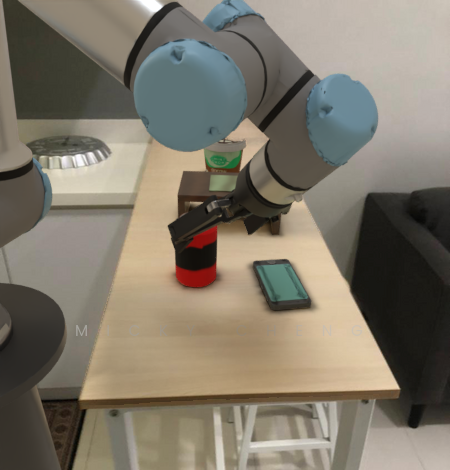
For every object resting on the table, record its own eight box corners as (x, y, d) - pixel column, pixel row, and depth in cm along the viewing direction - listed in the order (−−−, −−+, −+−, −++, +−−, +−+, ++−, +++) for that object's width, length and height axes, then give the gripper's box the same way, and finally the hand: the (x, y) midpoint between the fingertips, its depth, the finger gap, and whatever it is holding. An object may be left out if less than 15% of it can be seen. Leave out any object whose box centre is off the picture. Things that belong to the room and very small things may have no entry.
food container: (199, 180, 126) (199, 143, 120) (200, 172, 131) (200, 136, 125) (244, 182, 126) (246, 145, 120) (244, 174, 131) (246, 138, 125)
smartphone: (287, 257, 91) (312, 301, 79) (287, 263, 92) (311, 307, 80) (251, 260, 90) (271, 305, 78) (251, 265, 91) (270, 311, 79)
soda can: (221, 270, 89) (223, 212, 82) (208, 291, 83) (209, 231, 76) (184, 263, 91) (183, 206, 84) (169, 283, 85) (166, 223, 78)
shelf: (178, 231, 101) (176, 180, 95) (183, 204, 113) (182, 157, 106) (278, 234, 102) (284, 184, 95) (274, 207, 113) (278, 161, 106)
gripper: (196, 228, 52) (150, 276, 71) (359, 188, 62) (281, 240, 82) (173, 166, 52) (134, 231, 71) (339, 137, 63) (266, 200, 82)
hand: (212, 236), depth 76 cm, fingers open, 13 cm apart
